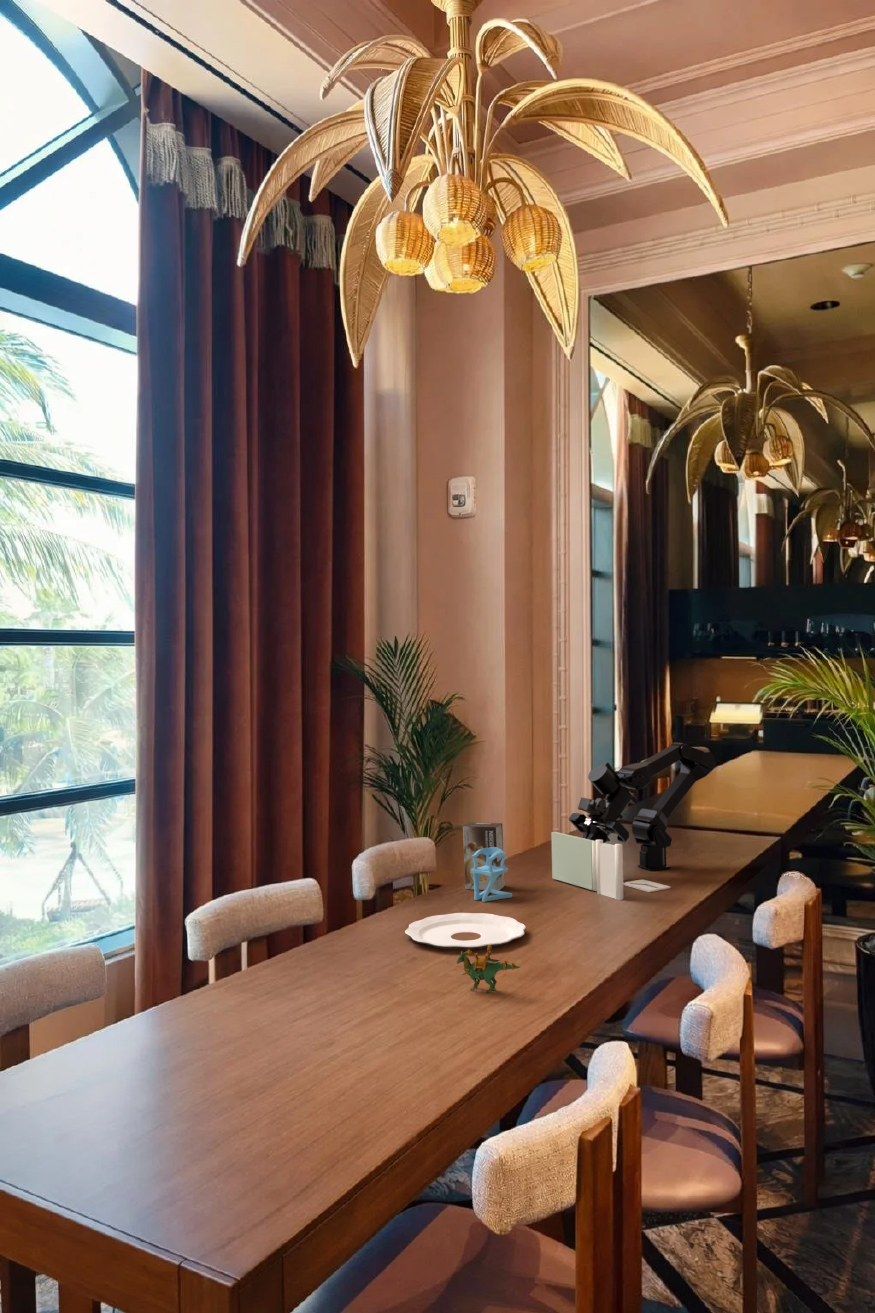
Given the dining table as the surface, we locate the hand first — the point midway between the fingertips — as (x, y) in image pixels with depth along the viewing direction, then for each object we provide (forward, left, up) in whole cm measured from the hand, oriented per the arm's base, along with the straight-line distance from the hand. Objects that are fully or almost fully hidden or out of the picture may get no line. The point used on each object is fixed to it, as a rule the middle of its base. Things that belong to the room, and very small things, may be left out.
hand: (581, 852), depth 256 cm
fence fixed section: (+4, +17, -7) cm, 19 cm away
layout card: (-10, +14, -7) cm, 18 cm away
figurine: (+61, +62, -7) cm, 87 cm away
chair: (+29, +4, -7) cm, 30 cm away
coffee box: (+25, -6, -7) cm, 27 cm away
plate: (+49, +30, -8) cm, 58 cm away
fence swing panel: (+5, +4, -7) cm, 9 cm away
